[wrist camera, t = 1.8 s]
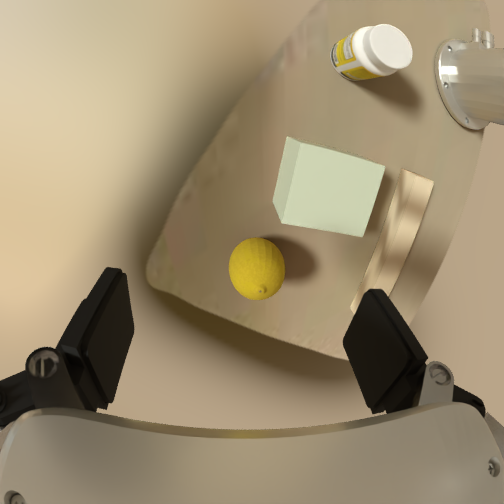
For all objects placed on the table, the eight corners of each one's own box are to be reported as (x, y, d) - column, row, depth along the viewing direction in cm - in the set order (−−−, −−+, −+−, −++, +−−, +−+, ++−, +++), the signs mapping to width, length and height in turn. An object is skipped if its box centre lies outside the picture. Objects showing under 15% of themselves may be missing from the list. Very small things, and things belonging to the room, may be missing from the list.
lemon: (288, 240, 30) (304, 282, 24) (261, 276, 33) (268, 323, 26) (246, 216, 29) (250, 253, 22) (220, 256, 31) (217, 300, 24)
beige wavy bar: (401, 168, 27) (415, 174, 24) (419, 174, 27) (434, 182, 25) (350, 307, 36) (357, 321, 34) (367, 308, 37) (375, 321, 34)
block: (286, 136, 25) (300, 142, 20) (357, 154, 26) (385, 166, 21) (272, 201, 28) (281, 223, 23) (341, 213, 29) (362, 237, 24)
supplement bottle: (379, 68, 21) (426, 61, 14) (348, 88, 23) (390, 84, 15) (352, 33, 19) (392, 12, 12) (319, 52, 21) (353, 32, 13)
